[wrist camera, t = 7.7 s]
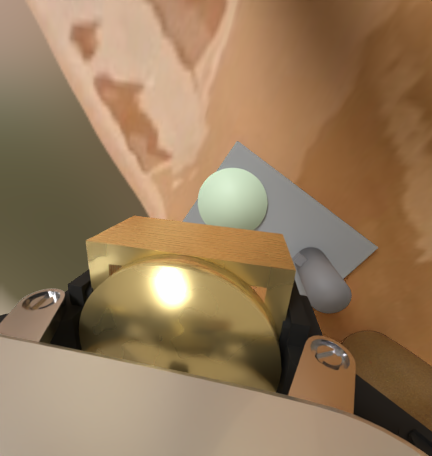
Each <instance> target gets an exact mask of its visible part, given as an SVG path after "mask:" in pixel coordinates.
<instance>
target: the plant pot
mask: <svg viewBox="0 0 432 456" xmlns="http://www.w3.org/2000/svg"><path fill="white" fill-rule="evenodd" d="M342 345H343V346H344V347H346V348H347V350H348V351H349V352H350V353H351V354H352V356H353V358H354V360H355V364H356V372H355V373H356V374H357V375H358V376H360V377H361V378H362V379H364V380H365V381H366V382H367V383H369V384H370V385H371V386H373V387H374V388H375V389H377V390H378V391H379V392H381V393H382V394H383V395H385V396H386V397H387V398H389V399H390V400H391V401H393V402H394V403H395V404H396V405H398V406H399V407H400V408H402V409H403V410H404V411H406V412H407V413H408V414H410V415H411V416H412V417H414V418H415V419H416V420H418V421H419V422H420V423H422V424H423V425H424V426H425V427H427V428H428V429H429V430H431V431H432V366H430V365H429V364H428V363H426V362H425V361H423V360H422V359H420V358H419V357H418V356H416V355H415V354H413V353H412V352H410V351H409V350H407V349H406V348H404V347H403V346H401V345H400V344H398V343H396V342H395V341H393V340H392V339H390V338H388V337H387V336H385V335H383V334H381V333H378V332H375V331H361V332H357V333H354V334H352V335H350V336H349V337H347V338H346V339H345V340H344V341H343V343H342Z"/></svg>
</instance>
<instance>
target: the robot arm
mask: <svg viewBox="0 0 432 456" xmlns="http://www.w3.org/2000/svg"><path fill="white" fill-rule="evenodd" d="M92 292H93V288H92V287H91V279H90V271H89V270H87V271H86V272H85V273H83V274H82V275H81V276H79V277H77V278H76V279H75V280H73V281H72V282H71V283H69V284H68V291H66V292H63V291H62V290H59V289H44V290H40V291H37V292H34V293H32V294H29V295H27V296H26V297H24V298H23V299H21V300H20V301H19V302H18V303H17V304H16V306H15V307H14V308H13V309H12V310H11V312H10V313H8V314H4V315H1V316H0V456H432V431H431V430H429V429H428V428H427V427H425V426H424V425H423V424H422V423H420V422H419V421H418V420H416V419H415V418H414V417H412V416H411V415H410V414H408V413H407V412H406V411H404V410H403V409H402V408H400V407H399V406H398V405H396V404H395V403H394V402H393V401H391V400H390V399H389V398H387V397H386V396H385V395H383V394H382V393H381V392H379V391H378V390H377V389H375V388H374V387H373V386H371V385H370V384H369V383H367V382H366V381H365V380H364V379H362V378H361V377H360V376H358V375H357V374H356V373H355V372H356V364H355V360H354V358H353V356H352V354H351V353H350V352H349V351H348V350H347V348H346V347H344V346H343V345H342V344H340V343H339V342H337V341H335V340H333V339H331V338H328V337H326V336H323V335H322V332H321V330H320V327H319V325H318V322H317V319H316V317H315V314H314V311H313V309H312V306H311V304H310V301H309V298H308V297H307V296H305V295H300V294H299V291H298V288H297V285H296V282H295V278H294V283H293V287H292V292H291V296H290V301H289V305H288V310H287V314H286V319H285V321H283V324H282V328H281V333H280V337H279V348H280V356H281V376H280V382H279V385H278V388H277V391H276V393H275V392H271V391H267V390H262V389H258V388H254V387H250V386H245V385H240V384H236V383H231V382H227V381H222V380H218V379H213V378H208V377H204V376H199V375H195V374H190V373H186V372H181V371H176V370H172V369H167V368H162V367H158V366H153V365H148V364H143V363H139V362H134V361H129V360H125V359H120V358H115V357H110V356H106V355H101V354H96V353H91V352H86V351H82V348H81V344H80V338H79V321H80V317H81V312H82V309H83V307H84V305H85V303H86V301H87V299H88V298H89V296H90V295H91V293H92Z"/></svg>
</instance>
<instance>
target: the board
mask: <svg viewBox="0 0 432 456" xmlns="http://www.w3.org/2000/svg"><path fill="white" fill-rule="evenodd" d="M182 222H189V223H197V224H205V225H213V226H221V227H230V228H238V229H246V230H254V231H262V232H270V233H278V234H283V236H284V239H285V242H286V244H287V247H288V250H289V252H290V255H291V258H292V261H293V263H294V266H295V269H296V274H295V282H296V285H297V288H298V291H299V294H300V295H305V296H307V297H308V298H309V301H310V304H311V306H312V307H313V308H314V309H316V310H317V311H320V312H323V313H336V312H339V311H341V310H343V309H344V308H346V307H347V306H348V304H349V303H350V301H351V296H352V295H351V290H350V288H349V287H348V285H347V284H346V283H345V281H344V280H343V279H344V278H345V277H346V276H347V275H348V274H349V273H350V272H352V271H353V270H354V269H355V268H356V267H357V266H358V265H359V264H361V263H362V262H363V261H364V260H365V259H366V258H367V257H368V256H370V255H371V254H372V253H373V252H374V251H375V250H376V249H378V247H377V246H376V245H374V244H373V243H372V242H370V241H369V240H368V239H366V238H365V237H364V236H362V235H361V234H360V233H358V232H357V231H356V230H354V229H353V228H352V227H350V226H349V225H348V224H346V223H345V222H344V221H343V220H341V219H340V218H339V217H337V216H336V215H335V214H333V213H332V212H331V211H329V210H328V209H327V208H325V207H324V206H323V205H321V204H320V203H319V202H317V201H316V200H315V199H313V198H312V197H311V196H310V195H308V194H307V193H306V192H304V191H303V190H302V189H300V188H299V187H298V186H296V185H295V184H294V183H292V182H291V181H290V180H288V179H287V178H286V177H284V176H283V175H282V174H280V173H279V172H278V171H277V170H275V169H274V168H273V167H271V166H270V165H269V164H267V163H266V162H265V161H263V160H262V159H261V158H259V157H258V156H257V155H255V154H254V153H253V152H251V151H250V150H249V149H247V148H246V147H245V146H244V145H242V144H241V143H240V142H238V141H237V142H236V143H235V145H234V146H233V148H232V149H231V151H230V152H229V154H228V155H227V157H226V158H225V160H224V161H223V163H222V164H221V166H220V167H219V168H218V170H217V171H216V172H215V173H213V174H212V175H211V176H209V177H208V178H207V179H206V180H205V182H204V183H203V185H202V186H201V189H200V191H199V195H198V199H197V201H196V202H195V204H194V205H193V207H192V208H191V210H190V211H189V213H188V214H187V216H186V217H185V219H184V220H183V221H182Z"/></svg>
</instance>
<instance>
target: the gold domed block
mask: <svg viewBox="0 0 432 456" xmlns="http://www.w3.org/2000/svg"><path fill="white" fill-rule="evenodd" d="M86 247H87V255H88V263H89V271H90V279H91V287H92V288H93V292H92V293H91V295H90V296H89V298H88V299H87V301H86V303H85V305H84V307H83V309H82V312H81V317H80V321H79V338H80V344H81V348H82V351H86V352H91V353H96V354H101V355H106V356H110V357H115V358H120V359H125V360H129V361H134V362H139V363H143V364H148V365H153V366H158V367H162V368H167V369H172V370H176V371H181V372H186V373H190V374H195V375H199V376H204V377H208V378H213V379H218V380H222V381H227V382H231V383H236V384H240V385H245V386H250V387H254V388H258V389H262V390H267V391H271V392H275V393H276V391H277V388H278V385H279V382H280V376H281V356H280V348H279V337H280V333H281V328H282V324H283V321H285V319H286V314H287V310H288V305H289V301H290V296H291V292H292V287H293V283H294V278H295V274H296V269H295V266H294V263H293V261H292V258H291V255H290V252H289V250H288V247H287V244H286V242H285V239H284V236H283V234H278V233H270V232H262V231H254V230H246V229H238V228H230V227H221V226H213V225H205V224H197V223H189V222H181V221H173V220H165V219H157V218H148V217H140V216H132V217H131V218H129V219H127V220H125V221H123V222H121V223H119V224H117V225H115V226H113V227H111V228H109V229H107V230H105V231H104V232H102V233H100V234H98V235H96V236H94V237H92V238H90V239H88V240H86ZM249 285H250V286H256V292H255V291H254V290H253V289H252V288H251V287H250V286H249Z"/></svg>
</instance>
